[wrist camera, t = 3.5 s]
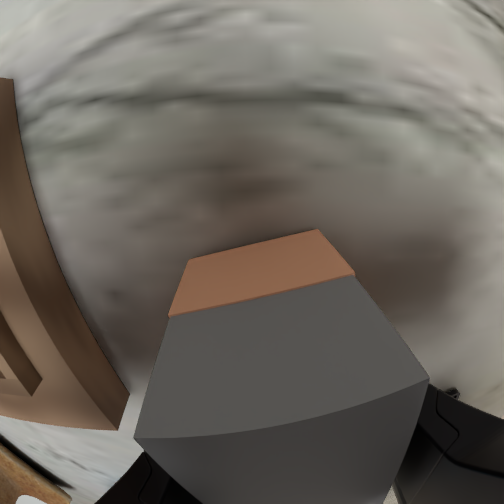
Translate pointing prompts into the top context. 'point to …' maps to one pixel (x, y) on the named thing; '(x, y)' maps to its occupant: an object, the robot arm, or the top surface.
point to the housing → (280, 381)
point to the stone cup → (26, 482)
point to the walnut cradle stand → (43, 312)
